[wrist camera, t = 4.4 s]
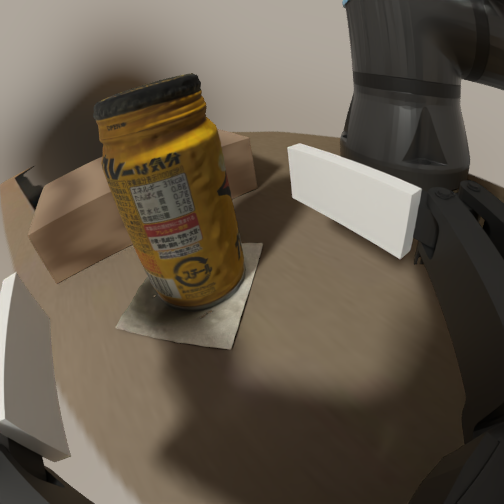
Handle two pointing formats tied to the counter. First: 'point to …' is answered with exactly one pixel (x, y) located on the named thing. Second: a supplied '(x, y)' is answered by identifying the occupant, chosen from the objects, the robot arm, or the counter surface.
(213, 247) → the condiment
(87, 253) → the stand
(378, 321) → the counter surface
